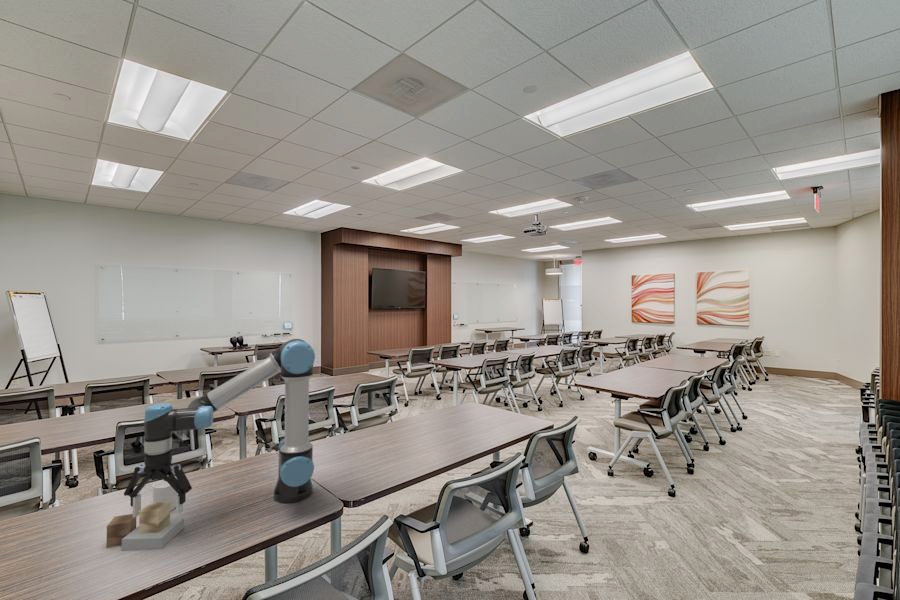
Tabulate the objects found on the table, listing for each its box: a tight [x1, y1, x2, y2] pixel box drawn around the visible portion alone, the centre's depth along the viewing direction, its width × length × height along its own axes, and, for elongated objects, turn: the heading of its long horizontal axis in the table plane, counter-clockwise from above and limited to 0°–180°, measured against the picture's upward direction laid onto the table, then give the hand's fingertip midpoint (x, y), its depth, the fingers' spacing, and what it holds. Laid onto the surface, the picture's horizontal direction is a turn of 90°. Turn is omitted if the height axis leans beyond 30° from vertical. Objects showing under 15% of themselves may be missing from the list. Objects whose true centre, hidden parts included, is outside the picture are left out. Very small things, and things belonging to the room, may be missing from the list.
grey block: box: [121, 517, 185, 551], centre depth 131 cm, size 12×12×4 cm
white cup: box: [152, 479, 178, 512], centre depth 150 cm, size 8×8×10 cm
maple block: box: [138, 502, 171, 533], centre depth 131 cm, size 6×6×7 cm
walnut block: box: [106, 513, 137, 549], centre depth 130 cm, size 6×6×7 cm
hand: (158, 514), depth 132 cm, fingers open, 13 cm apart
